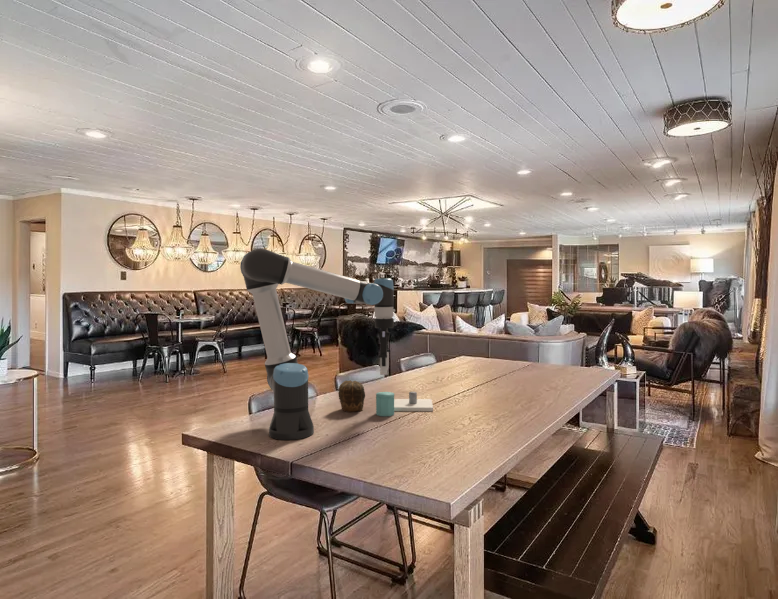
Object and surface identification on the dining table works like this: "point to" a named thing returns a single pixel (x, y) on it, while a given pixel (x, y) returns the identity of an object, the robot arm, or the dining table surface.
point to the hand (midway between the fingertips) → (384, 371)
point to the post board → (413, 404)
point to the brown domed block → (351, 396)
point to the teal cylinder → (385, 403)
